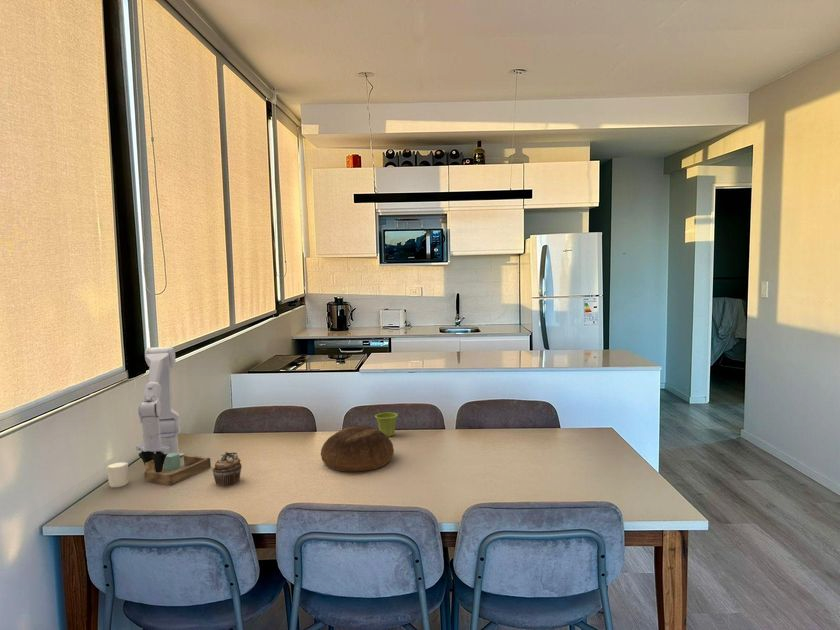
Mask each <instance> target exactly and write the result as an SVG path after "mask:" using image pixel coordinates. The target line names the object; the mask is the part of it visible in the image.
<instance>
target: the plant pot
mask: <svg viewBox="0 0 840 630" xmlns="http://www.w3.org/2000/svg"><path fill="white" fill-rule="evenodd" d="M397 417H399V415H398V413H396V412H381V413H377V414H376V415H375V418H376V421H377V426H378V430H380V431H381V432H383V433H384V434H385V435H386V436H387V437H388V438H389V437H393V436H395V431H396V423H397V422H396V420H397Z"/></svg>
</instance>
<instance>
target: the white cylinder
mask: <svg viewBox="0 0 840 630" xmlns="http://www.w3.org/2000/svg"><path fill="white" fill-rule="evenodd" d="M105 468H106V473H107V474H106V475H107V479H108V483H109V485H108V486H109V487H110V488H120V487H124V486H126V485H127V484H129V463H128V461H118V462H113V463H109V464H108V465H106V466H105Z"/></svg>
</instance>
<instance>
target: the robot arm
mask: <svg viewBox="0 0 840 630" xmlns="http://www.w3.org/2000/svg"><path fill="white" fill-rule="evenodd" d="M144 360H145V362H146V364H147V367H149V371H148V382H147V383H146V384H145V385H144V389H143V395H142V402H141V403H139V404H138V410H137V411H138V416H139V420H140V424H141V427H142V428H141V430H142V441H143V443H139V444H136V445H135V449H136V451H137V452H139V451H141V452H139V453H138V456H139V458H141V460H142V462H143V464H144V467H145V468H146V466H145V463H146V462H149V461H151V460H154V464H155V470H156V472H158V473H159V472H161V471H162V469H163V470H164V460H165V458H166V456H167V454H170V453H177V454H179V455H180V457H182V456H184V455H185V453H180V452H179V437H178V434H179V433H181V431H182V420H181V415H180V413H179V412H178V411H176V410H174V409H173V399H172V398H173V396H172V373H171V372H172V369H173V368H174V367H176V364H177V363H176V351H175V347H173V346H172V345H171V346H163V347H162V346H158V347H147V348H146V349H145V351H144Z"/></svg>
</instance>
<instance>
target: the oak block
mask: <svg viewBox="0 0 840 630" xmlns="http://www.w3.org/2000/svg"><path fill="white" fill-rule="evenodd" d="M145 466H146V467H145ZM144 467H145V471H151V472H156V470H155V464H154V460H151V461H149V462H146V463H145V465H144ZM159 473H164V468H163V469H162V471H161V472H159Z"/></svg>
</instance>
